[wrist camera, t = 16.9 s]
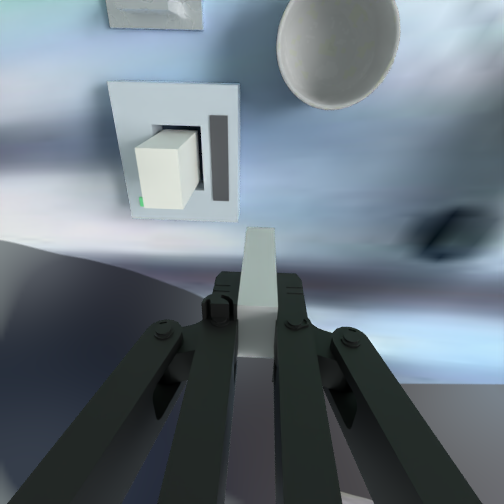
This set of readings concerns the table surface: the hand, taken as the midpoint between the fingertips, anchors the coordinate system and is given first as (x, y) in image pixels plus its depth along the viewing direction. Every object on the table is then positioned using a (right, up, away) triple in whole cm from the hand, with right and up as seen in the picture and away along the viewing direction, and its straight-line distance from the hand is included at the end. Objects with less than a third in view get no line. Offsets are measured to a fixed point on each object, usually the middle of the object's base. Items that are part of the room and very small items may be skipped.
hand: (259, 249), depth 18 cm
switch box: (-9, +13, +23) cm, 28 cm away
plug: (-9, +13, +23) cm, 28 cm away
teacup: (+8, +24, +17) cm, 30 cm away
